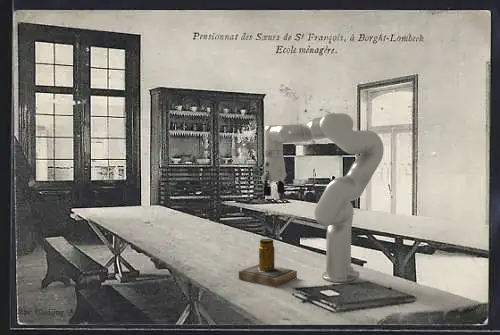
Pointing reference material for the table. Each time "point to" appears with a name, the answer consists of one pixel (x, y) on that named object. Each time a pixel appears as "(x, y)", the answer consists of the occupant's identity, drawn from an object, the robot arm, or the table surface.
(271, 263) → the condiment
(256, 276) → the tray
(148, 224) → the table surface
